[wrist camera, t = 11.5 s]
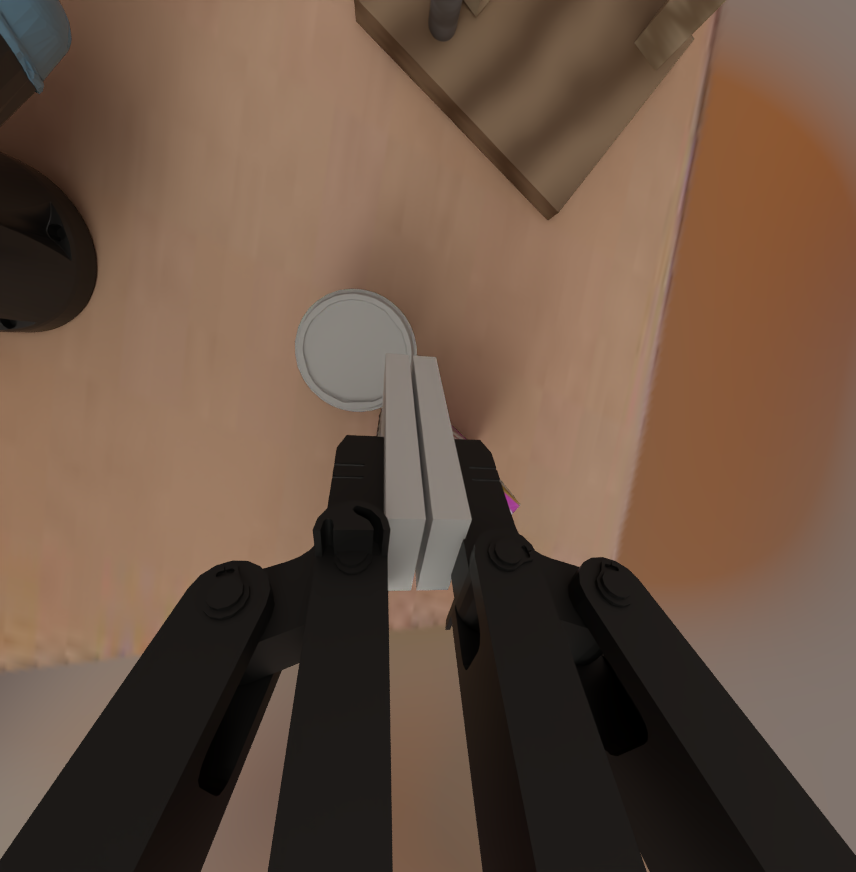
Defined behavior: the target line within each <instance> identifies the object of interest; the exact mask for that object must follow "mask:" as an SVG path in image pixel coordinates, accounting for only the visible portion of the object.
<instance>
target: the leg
mask: <svg viewBox="0 0 856 872" xmlns="http://www.w3.org/2000/svg"><path fill="white" fill-rule="evenodd" d="M464 1H465V3H466V4H467V5H468V7H469V8H470V9H471V11H472V12H473V14H474V15H475V16H476V17H477V16H478V14H479V13H480V12H481V11H482V9H483V8H484V7H485V6H486V4H487V3H488V2H489V1H490V0H464Z"/></svg>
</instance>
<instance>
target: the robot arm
mask: <svg viewBox="0 0 856 872" xmlns="http://www.w3.org/2000/svg"><path fill="white" fill-rule="evenodd" d="M71 39H72V38H71V31H70V24H69V21H68V18H67V16H66V13H65V11H64V9H63V7H62V5H61V3H60V2H59V0H0V127H1V126H2V125H3V124H4V122H5V121H6V120H7V119H8V118H9V117H10V116H11V115H12V114H13V113H14V112H15V111H16V110H17V109H18V108H19V107H20V106H21V105H22V104H23V103H24V102H25V101H26V100H27V99H28V98H29V97H30V96H31V95H32V94H33V93H34V92H36V93H39V94H40V93H41V92H43V88H44V83H43V81H44V80H45V78H46V77H47V76H48V75H49V74H50V72H51V71H52V70H53V69H54V68H55V66H56V65H57V64H58V63H59V62H60V60H61V59H62V58H63V57H64V56H65V54H66V53H67V52H68V50H69V48H70V45H71ZM95 279H96V257H95V251H94V247H93V243H92V240H91V237H90V234H89V232H88V229H87V227H86V225H85V223H84V221H83V219H82V217H81V216H80V214H79V212H78V211H77V209H76V208H75V207H74V205H73V204H72V202H71V201H70V200H69V199H68V198H67V196H66V195H65V194H64V193H63V192H62V191H61V190H60V189H59V188H58V187H57V186H56V185H55V184H54V183H53V182H51V181H50V180H49V179H48V178H46V177H45V176H44V175H43V174H41V173H40V172H38V171H37V170H35V169H33V168H32V167H30V166H28V165H27V164H25V163H23V162H21V161H19V160H16V159H14V158H12V157H10V156H8V155H6V154H4V153H1V152H0V332H42V331H47V330H51V329H54V328H57V327H60V326H62V325H64V324H66V323H67V322H69V321H70V320H72V319H73V318H74V317H76V316H77V315H78V314H79V313H80V312H81V311H82V309H83V308H84V307H85V305H86V304H87V302H88V300H89V298H90V296H91V294H92V291H93V288H94V284H95ZM313 537H314V546H313V547H312V548H311V549H310V550H309V551H308V552H306V553H305V554H303V555H302V556H300V557H298V558H295V559H293V560H290V561H288V562H284V563H281V564H278V565H274V566H271V567H268V568H264V569H262V568H261V567H260V566H258V565H256V564H254V563H251V562H249V561H230V562H226V563H223V564H220V565H216V566H215V567H213V568H211V569H210V570H208V571H206V572H205V573H203V574H201V575H200V576H199V577H198V578H197V579H196V580H195V582H194V583H193V584H192V585H191V586H190V587H189V588H188V589H187V591H186V592H185V594H184V595H183V596H182V598H181V599H180V601H179V602H178V604H177V605H176V607H175V608H174V609H173V611H172V612H171V614H170V615H169V617H168V618H167V620H166V621H165V622H164V624H163V625H162V627H161V628H160V630H159V631H158V633H157V634H156V635H155V637H154V638H153V640H152V641H151V643H150V644H149V646H148V647H147V648H146V650H145V651H144V653H143V654H142V656H141V657H140V659H139V660H138V661H137V663H136V664H135V666H134V667H133V669H132V670H131V672H130V673H129V674H128V676H127V677H126V679H125V680H124V682H123V683H122V685H121V686H120V687H119V689H118V690H117V692H116V693H115V695H114V696H113V698H112V699H111V700H110V702H109V703H108V705H107V706H106V708H105V709H104V711H103V712H102V713H101V715H100V716H99V718H98V719H97V721H96V722H95V724H94V725H93V727H92V728H91V729H90V731H89V732H88V734H87V735H86V737H85V738H84V740H83V741H82V742H81V744H80V745H79V747H78V748H77V750H76V751H75V752H74V754H73V755H72V757H71V758H70V760H69V761H68V763H67V764H66V765H65V767H64V768H63V770H62V771H61V773H60V774H59V776H58V777H57V779H56V780H55V781H54V783H53V784H52V786H51V787H50V789H49V790H48V791H47V793H46V794H45V796H44V797H43V799H42V800H41V802H40V803H39V804H38V806H37V807H36V809H35V810H34V812H33V813H32V815H31V816H30V817H29V819H28V820H27V822H26V823H25V825H24V826H23V828H22V829H21V830H20V832H19V833H18V835H17V836H16V838H15V839H14V841H13V842H12V844H11V845H10V846H9V848H8V849H7V851H6V852H5V854H4V855H3V856H2V858H1V859H0V872H201V869H202V867H203V864H204V862H205V859H206V857H207V854H208V852H209V849H210V847H211V844H212V842H213V840H214V837H215V835H216V832H217V830H218V827H219V825H220V822H221V820H222V817H223V815H224V812H225V810H226V807H227V805H228V802H229V800H230V797H231V795H232V793H233V790H234V788H235V785H236V783H237V780H238V777H239V775H240V773H241V770H242V767H243V765H244V763H245V760H246V758H247V755H248V753H249V750H250V748H251V745H252V743H253V740H254V738H255V735H256V733H257V730H258V728H259V726H260V723H261V721H262V718H263V716H264V713H265V711H266V708H267V706H268V703H269V701H270V698H271V696H272V693H273V691H274V688H275V686H276V683H277V681H278V678H279V676H280V674H281V671H282V670H283V669H286V668H288V667H290V666H293V665H295V664H298V663H300V664H299V670H298V676H297V683H296V689H295V696H294V703H293V709H292V716H291V722H290V729H289V736H288V743H287V748H286V755H285V762H284V769H283V775H282V782H281V788H280V795H279V801H278V808H277V814H276V821H275V827H274V834H273V841H272V848H271V854H270V860H269V867H268V872H392V871H393V870H392V810H391V808H392V806H391V745H390V744H391V743H390V680H389V615H388V591H403V590H411V587H412V582H413V577H414V573H416V588H417V590H448V588H449V585H450V582H451V579H452V585H453V592H454V600H453V603H452V606H451V608H450V611H449V614H448V616H447V619H446V630H450V628H451V626H452V627H453V635H454V643H455V651H456V659H457V667H458V675H459V684H460V692H461V700H462V708H463V716H464V723H465V732H466V740H467V748H468V756H469V764H470V773H471V781H472V789H473V797H474V805H475V813H476V821H477V828H478V837H479V845H480V853H481V861H482V869H483V872H646V868H645V866H644V863H643V860H642V857H643V859H644V861H645V863H646V865H647V867H648V869H649V871H650V872H856V855H855V854H854V853H853V852H852V850H851V849H850V848H849V846H848V845H847V844H846V843H845V841H844V840H843V839H842V838H841V836H840V835H839V834H838V833H837V831H836V830H835V829H834V827H833V826H832V825H831V824H830V822H829V821H828V820H827V818H826V817H825V816H824V815H823V814H822V812H821V811H820V809H819V808H818V807H817V806H816V804H815V803H814V802H813V801H812V799H811V798H810V797H809V796H808V794H807V793H806V792H805V790H804V789H803V788H802V787H801V785H800V784H799V783H798V782H797V780H796V779H795V778H794V776H793V775H792V774H791V773H790V771H789V770H788V769H787V767H786V766H785V765H784V764H783V762H782V761H781V760H780V759H779V757H778V756H777V755H776V754H775V752H774V751H773V750H772V748H771V747H770V746H769V745H768V743H767V742H766V741H765V740H764V738H763V737H762V736H761V734H760V733H759V732H758V731H757V729H756V728H755V727H754V726H753V724H752V723H751V722H750V721H749V719H748V718H747V717H746V715H745V714H744V713H743V712H742V710H741V709H740V708H739V706H738V705H737V704H736V703H735V701H734V700H733V699H732V698H731V696H730V695H729V694H728V692H727V691H726V690H725V689H724V687H723V686H722V685H721V684H720V682H719V681H718V680H717V678H716V677H715V676H714V675H713V673H712V672H711V671H710V670H709V668H708V667H707V666H706V664H705V663H704V662H703V661H702V659H701V658H700V657H699V656H698V654H697V653H696V652H695V650H694V649H693V648H692V647H691V645H690V644H689V643H688V642H687V640H686V639H685V638H684V637H683V635H682V634H681V633H680V632H679V630H678V629H677V628H676V626H675V625H674V624H673V623H672V621H671V620H670V619H669V618H668V616H667V615H666V614H665V612H664V611H663V610H662V608H661V607H660V606H659V605H658V603H657V602H656V601H655V600H654V598H653V597H652V596H651V595H650V593H649V592H648V591H647V589H646V588H645V587H644V586H643V584H642V583H641V582H640V581H639V579H638V578H637V577H636V576H634V574H633V573H632V572H631V571H630V570H628V569H627V568H626V567H624V566H622V565H621V564H619V563H618V562H616V561H613V560H610V559H607V558H604V557H598V558H590V559H589V560H587V561H585V562H583V564H582V565H581V566H580V567H577V566H574V565H571V564H568V563H564V562H561V561H558V560H554V559H551V558H549V557H546V556H544V555H541V554H540V553H538V552H536V551H535V550H534V548H533V546H532V545H531V544H530V543H529V542H528V541H527V540H526V539H525V538H524V537H523V536H522V535H520V534H519V533H518V531H517V529H516V527H515V524H514V521H513V518H512V515H511V512H510V509H509V506H508V502H507V499H506V496H505V493H504V490H503V487H502V484H501V482H500V478H499V475H498V472H497V470H496V466H495V463H494V460H493V457H492V453H491V452H490V451H489V450H488V449H487V447H486V446H485V445H484V444H483V443H482V442H481V441H480V440H466V439H454V437H453V432H452V427H451V423H450V418H449V414H448V409H447V405H446V400H445V396H444V391H443V387H442V382H441V378H440V373H439V368H438V364H437V359H436V357H428V356H416V355H413V362H412V370H411V369H410V360H409V355H403V354H391V353H386V357H385V372H384V387H383V402H382V416H381V437H377V436H355V435H346V437H345V438H344V439H343V441H342V442H341V443H340V444H339V446H338V447H337V450H336V456H335V463H334V469H333V477H332V482H331V489H330V495H329V502H328V508H327V509H326V510H325V511H324V512H323V513H322V514H321V515H320V516H319V517H318V519H317V521H316V523H315V526H314V528H313ZM640 853H641V854H640ZM641 855H642V857H641Z"/></svg>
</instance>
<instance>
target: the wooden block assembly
mask: <svg viewBox="0 0 856 872" xmlns="http://www.w3.org/2000/svg"><path fill="white" fill-rule="evenodd" d="M725 1H726V0H490V1H489V2H488V3H487V4H486V6H485V7H484V8H483V9H482V11H481V12H480V13H479V14H478V16H477V17H476V16H475V15H474V14H473V12H472V11H471V9H470V8H469V7H468V5H467V4H466V3H465V1H464V0H354V4H355V13H356V21H357V22H358V23H359V24H360V25H361V26H362V27H363V29H364V30H365V31H366V32H367V33H368V34H369V35H370V36H371V37H372V38H373V39H374V40H375V41H376V42H377V43H378V44H379V45H380V46H381V47H382V48H383V49H384V50H385V51H386V52H387V53H388V55H389V56H390V57H391V58H392V59H393V60H394V61H395V62H396V63H397V64H398V65H399V66H400V67H401V68H402V69H403V70H404V71H405V72H406V73H407V74H408V75H409V76H410V77H411V78H412V80H413V81H414V82H415V83H416V84H417V85H418V86H419V87H420V88H421V89H422V90H423V91H424V92H425V93H426V94H427V95H428V96H429V97H430V98H431V99H432V100H433V101H434V102H435V103H436V104H437V106H438V107H439V108H440V109H441V110H442V111H443V112H444V113H445V114H446V115H447V116H448V117H449V118H450V119H451V120H452V121H453V122H454V123H455V124H456V125H457V126H458V127H459V128H460V129H461V130H462V132H463V133H464V134H465V135H466V136H467V137H468V138H469V139H470V140H471V141H472V142H473V143H474V144H475V145H476V146H477V147H478V148H479V149H480V150H481V151H482V152H483V153H484V154H485V155H486V157H487V158H488V159H489V160H490V161H491V162H492V163H493V164H494V165H495V166H496V167H497V168H498V169H499V170H500V171H501V172H502V173H503V174H504V175H505V176H506V177H507V178H508V179H509V180H510V181H511V183H512V184H513V185H514V186H515V187H516V188H517V189H518V190H519V191H520V192H521V193H522V194H523V195H524V196H525V197H526V198H527V199H528V200H529V201H530V202H531V203H532V204H533V205H534V206H535V207H536V209H537V210H538V211H539V212H540V213H541V214H542V215H543V216H544V217H545V218H546V219H547V220H549V219H550V218H552V217H553V216H554V215H556V214H557V213H559V211H560V210H561V209H562V208H563V206H564V205H565V204H566V202H567V201H568V200H569V199H570V197H571V196H572V195H573V193H574V192H575V191H576V190H577V188H578V187H579V186H580V185H581V183H582V182H583V181H584V179H585V178H586V177H587V176H588V174H589V173H590V172H591V170H592V169H593V168H594V167H595V165H596V164H597V163H598V162H599V160H600V159H601V158H602V156H603V155H604V154H605V153H606V151H607V150H608V149H609V147H610V146H611V145H612V144H613V142H614V141H615V140H616V139H617V137H618V136H619V135H620V133H621V132H622V131H623V130H624V128H625V127H626V126H627V124H628V123H629V122H630V121H631V119H632V118H633V117H634V116H635V114H636V113H637V112H638V110H639V109H640V108H641V107H642V105H643V104H644V103H645V101H646V100H647V99H648V98H649V96H650V95H651V94H652V93H653V91H654V90H655V89H656V87H657V86H658V85H659V84H660V82H661V81H662V80H663V78H664V77H665V76H666V75H667V73H668V72H669V71H670V70H671V68H672V67H673V66H674V64H675V63H676V62H677V61H678V59H679V58H680V57H681V55H682V54H683V53H684V52H685V50H686V49H687V48H688V47H689V45H690V44H691V43H692V41H693V40H694V38H693V36H692V34H693V33H694V32H695V31H696V30H697V29H698V28H699V27H700V26H701V25H702V24H703V23H704V22H705V21H706V20H707V19H708V18H709V17H710V16H711V15H712V14H713V13H714V12H715V11H716V10H717V9H718V8H719V7H720V6H721V5H722V4H723V3H724V2H725Z"/></svg>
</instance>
